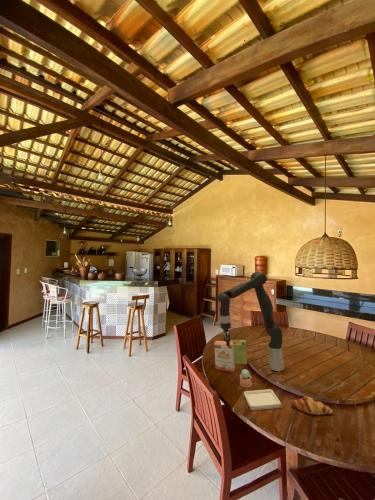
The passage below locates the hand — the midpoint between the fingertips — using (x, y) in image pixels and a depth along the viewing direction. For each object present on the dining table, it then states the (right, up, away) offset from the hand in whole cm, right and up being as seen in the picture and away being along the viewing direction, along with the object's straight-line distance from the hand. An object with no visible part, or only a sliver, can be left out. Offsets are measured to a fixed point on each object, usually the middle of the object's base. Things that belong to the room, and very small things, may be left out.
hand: (227, 343), depth 166 cm
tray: (+16, -24, -28) cm, 40 cm away
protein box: (+13, -25, +24) cm, 37 cm away
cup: (+11, -24, -9) cm, 28 cm away
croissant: (+41, -23, -38) cm, 60 cm away
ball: (+11, -17, -9) cm, 22 cm away
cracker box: (+1, -25, +12) cm, 28 cm away
